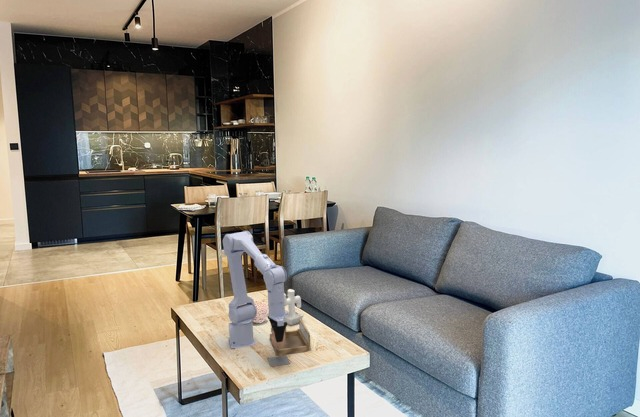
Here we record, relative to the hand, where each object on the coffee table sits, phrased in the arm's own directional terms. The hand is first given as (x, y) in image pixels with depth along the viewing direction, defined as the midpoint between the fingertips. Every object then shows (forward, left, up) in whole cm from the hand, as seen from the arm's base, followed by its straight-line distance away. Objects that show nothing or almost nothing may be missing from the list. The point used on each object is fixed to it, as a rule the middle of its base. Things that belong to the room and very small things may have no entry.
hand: (278, 338), depth 174 cm
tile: (0, 0, -9) cm, 9 cm away
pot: (0, +1, -2) cm, 2 cm away
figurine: (+12, +34, -9) cm, 38 cm away
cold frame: (+6, +12, -9) cm, 16 cm away
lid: (+12, +12, -9) cm, 20 cm away
